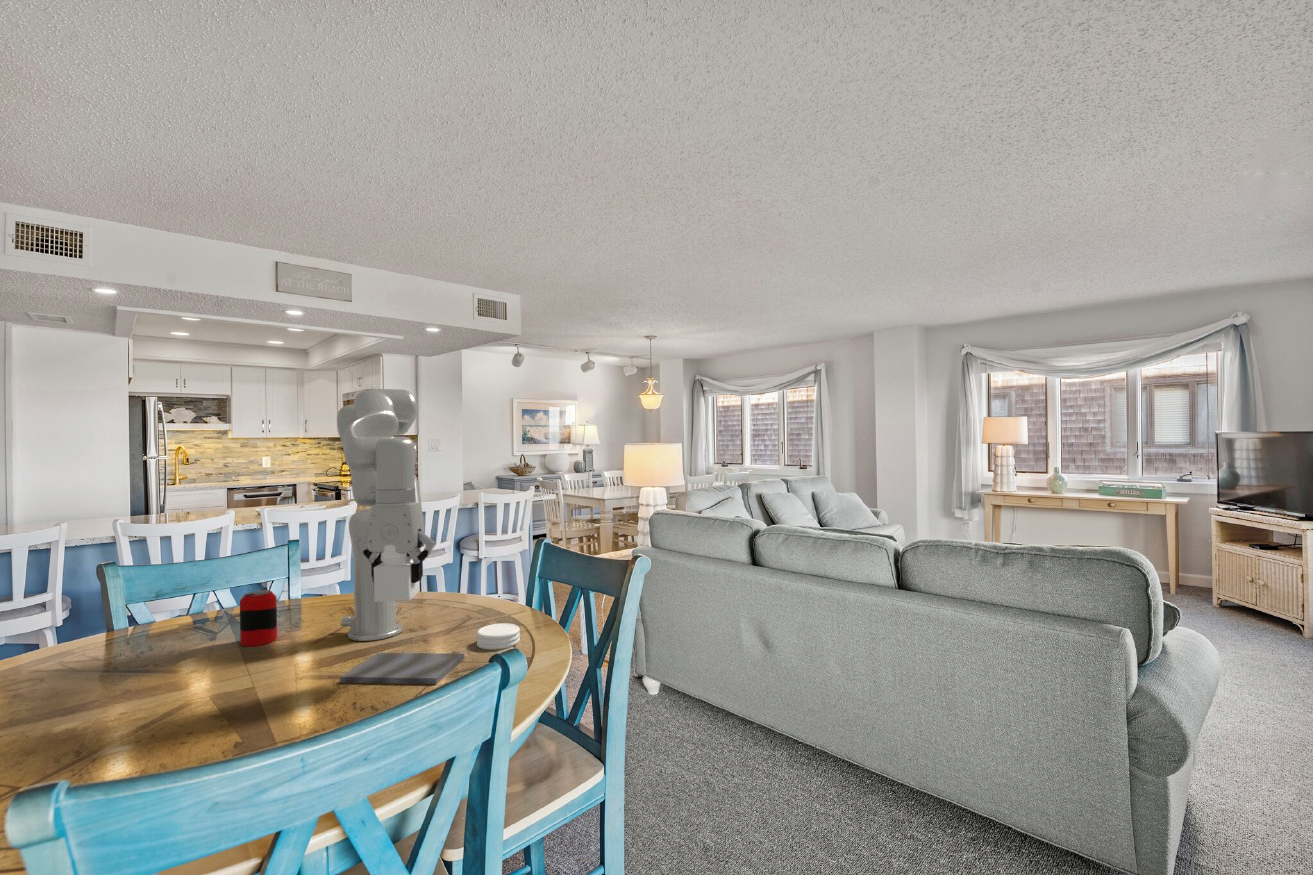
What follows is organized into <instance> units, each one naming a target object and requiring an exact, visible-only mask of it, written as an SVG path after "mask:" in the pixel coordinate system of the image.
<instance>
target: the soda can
mask: <svg viewBox="0 0 1313 875" xmlns="http://www.w3.org/2000/svg"><path fill="white" fill-rule="evenodd" d="M277 608H278V607H277V595H276V594H275V593H274V592H273V591H272V590H269V589H268V590H267V589H265V590H264V589H263V590H254V591H250V592H249V591H248V592H246V593H245V594H244V595H243V596H242V598H241V599H240V600H239V632H240V634H239V636H240V637H239V640H240V645H243V646H242V647H245V646H246V648H254V647H261V646H264V645H268V644H272V643H273V642H275V641H276V640H277V639H278V619H277V618H278V617H277V616H278V613H277V612H278V611H277V610H278V609H277ZM260 645H261V646H260Z"/></svg>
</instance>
